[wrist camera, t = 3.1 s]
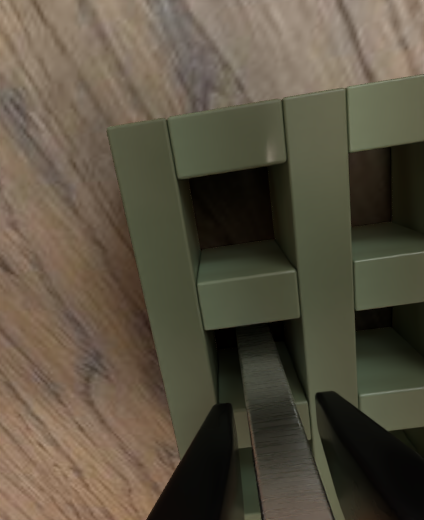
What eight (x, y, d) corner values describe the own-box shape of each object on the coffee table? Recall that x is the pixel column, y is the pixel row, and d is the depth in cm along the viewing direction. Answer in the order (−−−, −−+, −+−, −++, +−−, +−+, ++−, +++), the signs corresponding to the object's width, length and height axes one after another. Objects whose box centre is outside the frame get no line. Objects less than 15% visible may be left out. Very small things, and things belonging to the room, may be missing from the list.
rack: (203, 462, 15) (200, 551, 12) (137, 136, 11) (104, 126, 8) (426, 436, 14) (490, 521, 11) (435, 87, 11) (537, 54, 7)
